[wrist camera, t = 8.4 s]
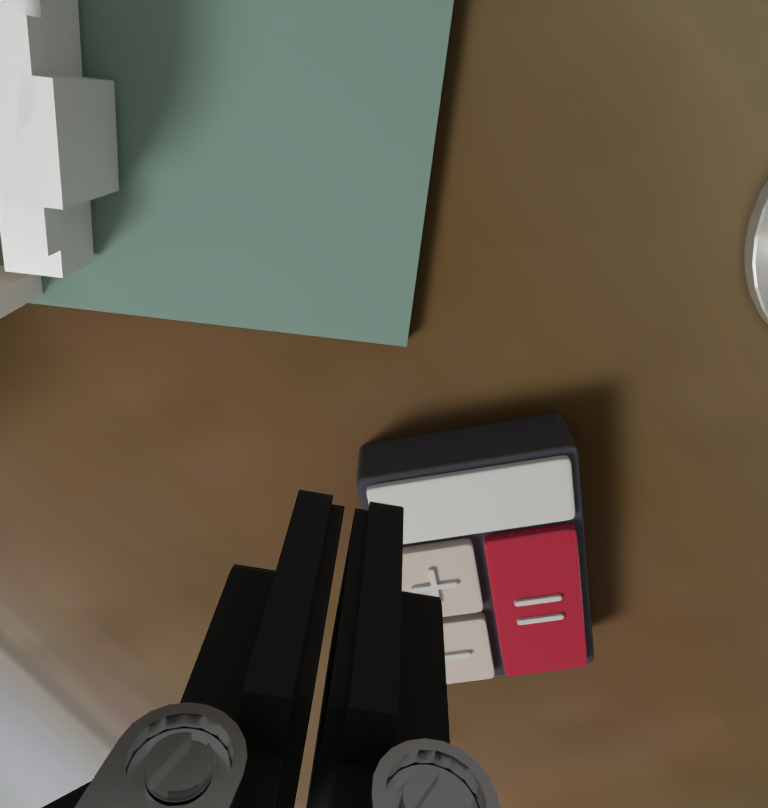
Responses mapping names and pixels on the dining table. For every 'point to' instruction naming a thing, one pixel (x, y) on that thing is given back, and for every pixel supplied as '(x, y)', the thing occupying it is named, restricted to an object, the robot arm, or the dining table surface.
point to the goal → (17, 290)
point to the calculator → (492, 541)
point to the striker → (50, 139)
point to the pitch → (264, 162)
